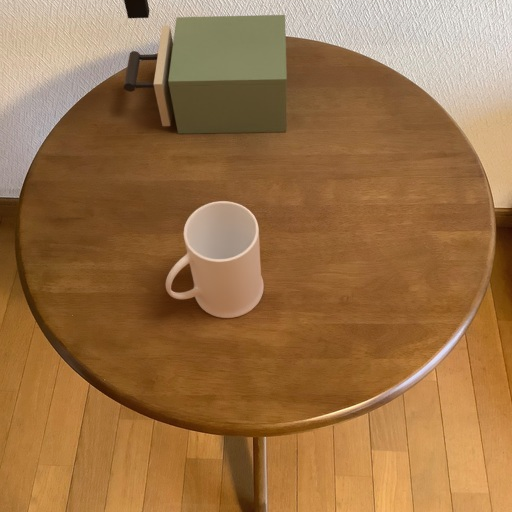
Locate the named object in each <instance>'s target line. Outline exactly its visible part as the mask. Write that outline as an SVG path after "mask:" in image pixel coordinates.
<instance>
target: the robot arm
mask: <svg viewBox="0 0 512 512" xmlns="http://www.w3.org/2000/svg"><path fill="white" fill-rule="evenodd" d="M123 3H124V7H125V11H126V15H127V19H149V17H150V11H151V10H150V6H149V1H148V0H123Z"/></svg>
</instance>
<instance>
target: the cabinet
mask: <svg viewBox="0 0 512 512" xmlns="http://www.w3.org/2000/svg"><path fill="white" fill-rule="evenodd" d="M286 37H287V36H286V15H285V14H266V15H265V14H263V15H261V14H260V15H219V16H218V15H217V16H214V15H213V16H176V18H175V25H174V33H173V48H172V56H171V64H170V72H169V80H168V82H169V88H170V93H171V99H172V104H173V109H172V110H173V114H174V119H175V125H176V130H177V134H178V135H181V134H182V135H184V134H185V135H187V134H190V135H191V134H238V133H239V134H241V133H243V134H244V133H245V134H246V133H247V134H249V133H250V134H251V133H286V132H287V105H288V104H287V101H288V100H287V99H288V98H287V96H288V95H287V92H288V91H287V89H288V87H287V85H288V76H287V75H288V73H287V41H286V40H287V38H286Z"/></svg>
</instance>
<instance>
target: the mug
mask: <svg viewBox="0 0 512 512" xmlns="http://www.w3.org/2000/svg"><path fill="white" fill-rule="evenodd" d="M183 239H184V244H185V250H186V254H185V255H183V256H182V257H181V258H180V259H179V260H178V261H177V262H176V263H175V264H174V265H173V266H172V268H171V269H170V271H169V273H168V274H167V277H166V280H165V290H166V292H167V294H168V295H169V296H170V297H171V298H173V299H175V300H188V299H192V298H194V299H195V301H196V302H197V304H198V305H199V307H200V308H201V309H202V310H203V311H205V313H207V314H209V315H211V316H214V317H217V318H220V319H233V318H238V317H242V316H244V315H246V314H248V313H249V312H251V311H252V310H253V309H254V308H256V307H257V305H258V304H259V302H260V301H261V299H262V296H263V293H264V288H265V287H264V285H265V284H264V279H263V276H262V267H261V252H260V251H261V250H260V249H261V246H260V229H259V223H258V221H257V218H256V216H255V215H254V213H253V212H252V211H250V210H249V208H247V207H245V206H244V205H242V204H240V203H237V202H233V201H226V200H220V201H219V200H217V201H213V202H209V203H206V204H204V205H202V206H200V207H198V208H197V209H195V210H194V211H193V212H192V213H191V214H190V215H189V217H188V218H187V220H186V222H185V224H184V228H183ZM187 265H189V267H190V273H191V276H192V281H193V288H191V289H190V290H187V291H181V292H177V291H173V290H172V285H173V281H174V279H175V278H176V277H177V275H178V273H180V271H181V270H183V268H185V267H186V266H187Z"/></svg>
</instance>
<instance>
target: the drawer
mask: <svg viewBox="0 0 512 512" xmlns="http://www.w3.org/2000/svg"><path fill="white" fill-rule="evenodd" d="M160 31H161V32H160V37H159V44H158V51H157V54H156V53H155V54H154V53H153V54H140V52H138V51H136V50H132V51H130V53H129V56H128V61H127V66H126V72H125V77H124V82H123V89H124V90H125V91H126V92H129V93H132V92H134V91H136V89H150V88H151V89H152V88H153V89H154V94H155V97H156V103H157V107H158V112H159V116H160V121H161V125H162V127H171V124H172V118H173V117H172V116H173V110H174V109H173V104H172V99H171V93H170V88H169V82H168V80H169V72H170V64H171V56H172V48H173V41H174V39H173V35H172V29H171V25H162V26H161V30H160ZM141 61H156V65H155V72H154V79H153V81H137V79H138V75H139V67H140V62H141Z"/></svg>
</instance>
